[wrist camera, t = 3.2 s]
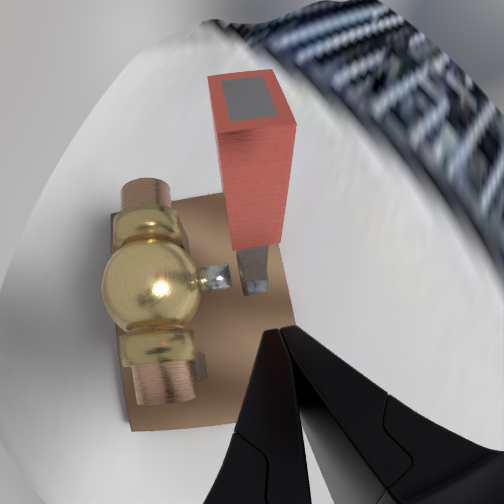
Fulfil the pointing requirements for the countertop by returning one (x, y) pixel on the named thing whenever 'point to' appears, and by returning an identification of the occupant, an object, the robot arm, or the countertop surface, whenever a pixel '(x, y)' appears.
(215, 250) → the mounting board
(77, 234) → the countertop surface
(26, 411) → the countertop surface
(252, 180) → the valve lever
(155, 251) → the valve body
